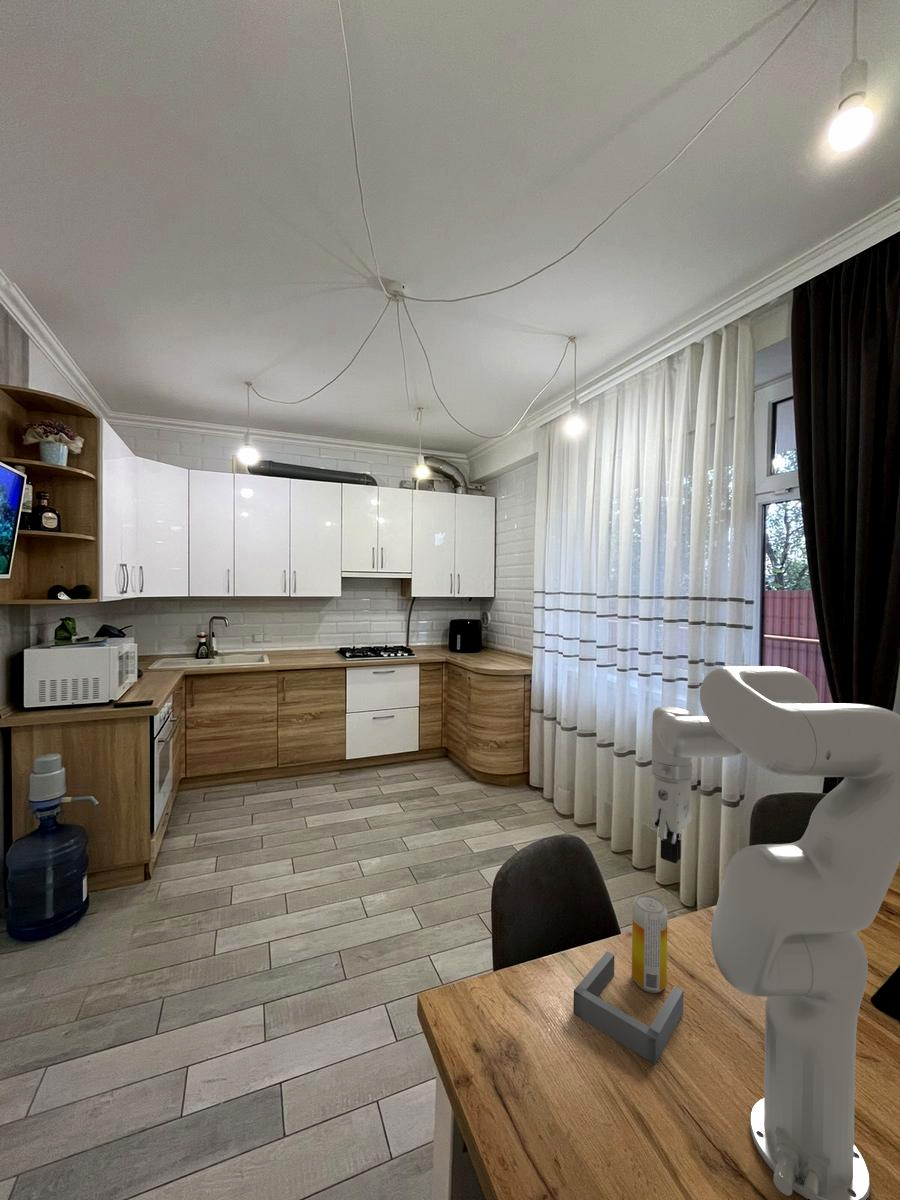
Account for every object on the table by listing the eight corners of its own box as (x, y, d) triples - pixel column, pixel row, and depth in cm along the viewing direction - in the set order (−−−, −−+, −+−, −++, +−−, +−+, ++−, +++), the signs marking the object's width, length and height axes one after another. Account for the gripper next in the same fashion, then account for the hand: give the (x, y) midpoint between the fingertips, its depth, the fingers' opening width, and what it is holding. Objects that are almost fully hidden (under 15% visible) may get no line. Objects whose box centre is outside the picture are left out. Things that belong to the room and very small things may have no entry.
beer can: (660, 971, 96) (661, 894, 96) (671, 996, 90) (672, 914, 90) (628, 969, 97) (629, 892, 97) (636, 993, 91) (637, 912, 91)
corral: (655, 1065, 77) (655, 1039, 77) (573, 1013, 86) (573, 990, 86) (683, 1013, 87) (683, 990, 87) (606, 971, 96) (606, 951, 96)
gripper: (678, 784, 93) (677, 882, 93) (702, 764, 104) (701, 851, 105) (638, 774, 98) (637, 867, 98) (665, 756, 109) (664, 839, 110)
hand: (670, 858), depth 101 cm, fingers closed
